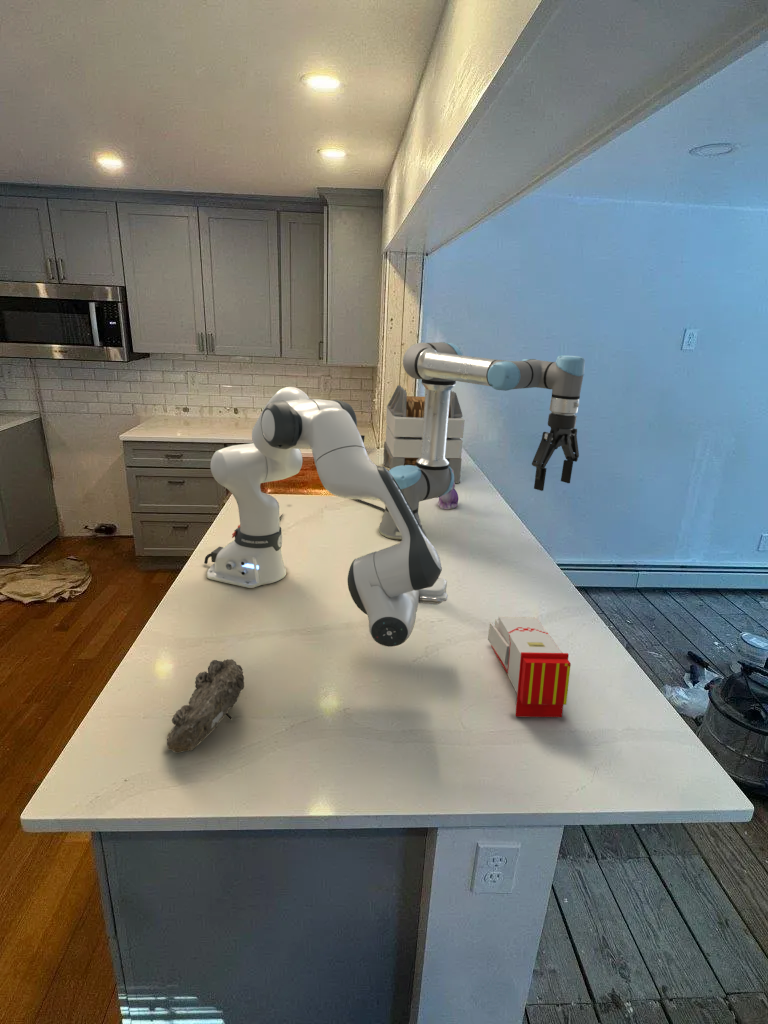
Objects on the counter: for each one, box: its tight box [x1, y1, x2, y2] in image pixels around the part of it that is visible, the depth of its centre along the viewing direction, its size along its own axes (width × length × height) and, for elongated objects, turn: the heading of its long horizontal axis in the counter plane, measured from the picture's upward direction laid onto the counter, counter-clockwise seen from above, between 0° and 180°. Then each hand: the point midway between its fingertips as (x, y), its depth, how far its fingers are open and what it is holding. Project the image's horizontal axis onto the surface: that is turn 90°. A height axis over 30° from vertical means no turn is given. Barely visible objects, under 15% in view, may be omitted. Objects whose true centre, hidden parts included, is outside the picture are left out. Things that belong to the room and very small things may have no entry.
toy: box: [487, 616, 572, 718], centre depth 123 cm, size 12×13×30 cm
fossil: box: [166, 658, 245, 754], centre depth 106 cm, size 22×10×15 cm
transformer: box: [383, 384, 465, 484], centre depth 268 cm, size 34×33×41 cm
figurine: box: [437, 470, 459, 510], centre depth 228 cm, size 9×10×15 cm
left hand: (404, 573), depth 135 cm, fingers open, 8 cm apart
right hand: (552, 485), depth 166 cm, fingers open, 13 cm apart
